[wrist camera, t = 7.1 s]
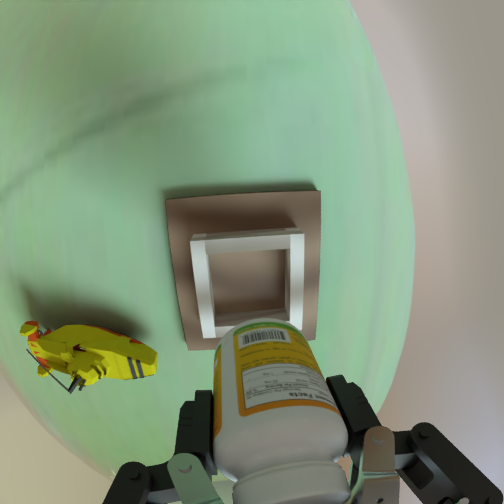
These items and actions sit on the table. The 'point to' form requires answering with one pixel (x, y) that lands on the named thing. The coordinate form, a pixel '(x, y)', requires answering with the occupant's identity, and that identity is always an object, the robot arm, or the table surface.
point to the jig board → (245, 261)
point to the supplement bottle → (276, 418)
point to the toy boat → (88, 354)
